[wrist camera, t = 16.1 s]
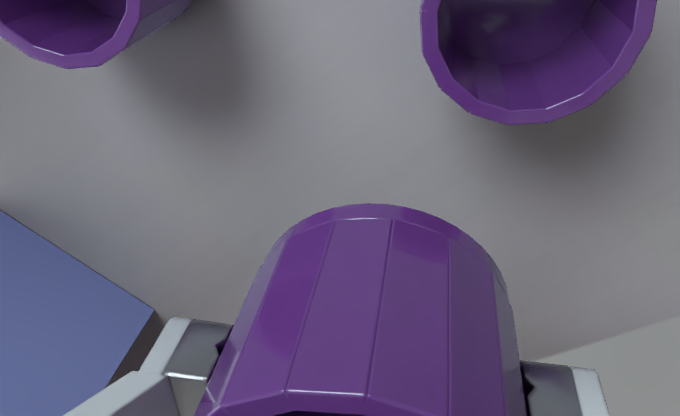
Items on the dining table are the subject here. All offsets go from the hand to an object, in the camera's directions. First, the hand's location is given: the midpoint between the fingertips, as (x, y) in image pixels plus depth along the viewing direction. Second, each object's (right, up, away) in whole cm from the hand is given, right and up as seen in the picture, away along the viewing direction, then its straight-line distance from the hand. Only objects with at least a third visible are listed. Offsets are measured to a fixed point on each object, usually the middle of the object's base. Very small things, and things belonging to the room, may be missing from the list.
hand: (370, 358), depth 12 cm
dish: (+5, +11, +7) cm, 14 cm away
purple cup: (0, +1, +1) cm, 2 cm away
